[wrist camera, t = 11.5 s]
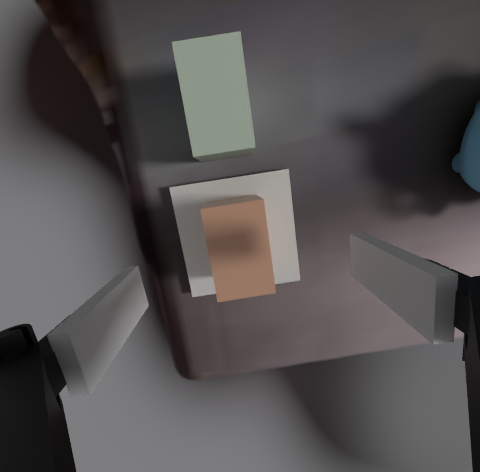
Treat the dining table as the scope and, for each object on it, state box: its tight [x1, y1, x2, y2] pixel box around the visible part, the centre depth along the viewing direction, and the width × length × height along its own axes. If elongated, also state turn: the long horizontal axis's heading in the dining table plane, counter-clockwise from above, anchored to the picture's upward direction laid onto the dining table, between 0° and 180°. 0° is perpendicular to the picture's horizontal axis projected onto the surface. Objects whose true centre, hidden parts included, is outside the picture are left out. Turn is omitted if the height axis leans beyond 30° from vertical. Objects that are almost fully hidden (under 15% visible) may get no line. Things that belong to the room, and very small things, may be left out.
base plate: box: [169, 169, 300, 297], centre depth 26 cm, size 12×12×1 cm
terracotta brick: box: [200, 195, 276, 302], centre depth 23 cm, size 8×5×6 cm, turn 9°
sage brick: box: [172, 31, 255, 162], centre depth 22 cm, size 8×5×6 cm, turn 9°
